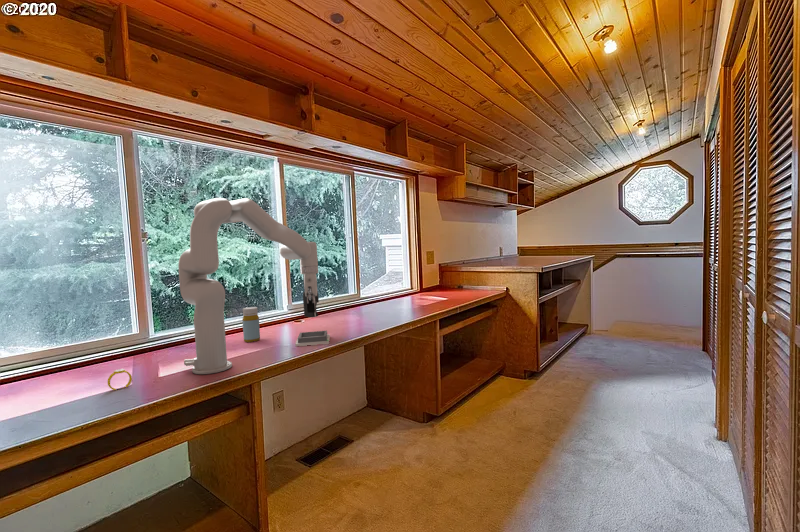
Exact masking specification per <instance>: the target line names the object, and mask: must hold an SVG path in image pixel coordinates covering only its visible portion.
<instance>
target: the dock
mask: <svg viewBox="0 0 800 532" xmlns="http://www.w3.org/2000/svg"><path fill="white" fill-rule="evenodd" d="M329 341H331V335H330V333H329V334H328V330H317V331H314V330H313V331H304V332H302V331H301V332H299V334H298V337H297V339H296V341H295V347H296V348H298V347H297V346H299V347H308V346H307V345H311V346H318V345H317V344H323V345H329V344H330V342H329Z"/></svg>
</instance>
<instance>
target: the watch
mask: <svg viewBox="0 0 800 532" xmlns="http://www.w3.org/2000/svg"><path fill="white" fill-rule="evenodd" d="M122 373H126V374H127V375H128V377H129V379H128V382H127V384H126V385H125V386H126V387H127V388H128V387H129V386H130V385H131V383H132V381H133V378H132V375H131V373H130V372H129V371H127V370H125V368H119V369H115V370H113V372H112V373H111V374H110V375H109V376H108V378H107V386H108V388H110V389H111V390H113V391H115V390H116V388H114V387H113V386H112V385H111V380H112V378H113V377H114V376H115V375H117V374H118V375H119V374H122ZM116 391H117V390H116Z"/></svg>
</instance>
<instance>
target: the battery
mask: <svg viewBox="0 0 800 532" xmlns="http://www.w3.org/2000/svg"><path fill="white" fill-rule="evenodd" d="M311 296H313V294H312V295H311ZM319 299H320V298H319V293H317V296H315V295H314V303H315V312H312V313H308V312H307V297H306V296H305V290H304V291H303V292H302V303H303V304H302V305H303V315H304V317H306V318H317V317H319V314H318V311H317V304H318V303H319V301H320V300H319ZM312 301H313V300H312Z"/></svg>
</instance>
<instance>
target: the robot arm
mask: <svg viewBox="0 0 800 532" xmlns="http://www.w3.org/2000/svg"><path fill="white" fill-rule="evenodd" d="M193 215H194V217H193V219H192V221H191V224H190V228H189V248H188V249H186V250H184V251H183V252H182V253H181V254H180V257H179V260H178V279H179V292H180V295H181V297H182V299H183V301H184V302H186V303H187V304H189V305H192V306H194V312H193V327H194V329H193V330H194V339H195V341H194V342H195V353H196V354H195V355H196V357H194V358H187V359H184V360H183V365H184V366H186V367H189V366H192V368H191V369H192V373H193V374H195V375H210V374H217V373H220V372H223V371H227V370H229V369H230V368H232V367H233V362H232V361H230V360H228V355H227V354H228V353H227V342H226V340H227V339H226V328H225V327H226V324H225V302H226V290H225V288H224V285H223V284H222V283H221V282H220V281H218V280H216V279H212V278H208V277H207V275H212V274H213V273H215V272H216V271H218V269H219V267H220V259H219V246H218V233H219V229H220V228H221V226H222V224H232V223H242V222H243V223H244V224H245V225H246V226H248V228H250V229H251V230H252V231H253V232H255V233H256V234H257V235H258V236H259V237H261V238H262V239H265V240H267V241H271V242H275V243H279V244H281V246H280V248H279V254H280V256H281V257H282V258H283V259H285V260H290V261H293V260H294V261H295V260H296V261H297V260H299V268H300V270H299V271H300V275H303V288H304V291H305V296H306V297H307V312H308V313H312V312H315V303H314V295H315V296H317V293H318V280H317V279H318V278H317V274H319V264H318V262H319V261H318V260H319V259H318V248H317V247H318V244H317V242H315V241H308V240H306V238H304V237H303V235H301V234H299V232H297V231H295V230H294V229H292V228H290V227H288V226H286V225H284V224H282V223H280V222H278V221H277V220H275V218H273V217H272V216H271V215H270V214H269V213H268V212H267V211H266V210H265V209H263V208H262V207H261V206H260V205H259V204H258V203H257V202H256V201H254V200H253V199H250V198H246V197H245V198H244V197H243V198H239V199H235V200H228V199H227V198H224V197H215V198H210V199H207V200H203V201H200V202H198V203H197V204H196V205H195V206H194V209H193ZM312 294H313V296H311V295H312ZM318 294H319V293H318ZM312 300H313V301H312Z"/></svg>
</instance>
